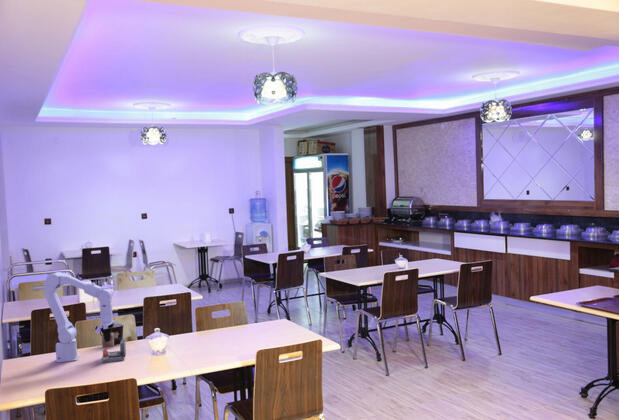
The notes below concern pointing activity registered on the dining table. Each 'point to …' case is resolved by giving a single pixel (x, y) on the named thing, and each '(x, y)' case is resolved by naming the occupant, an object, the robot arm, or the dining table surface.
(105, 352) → the lever
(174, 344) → the dining table surface
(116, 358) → the press bed
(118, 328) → the coffee mug
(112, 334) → the housing block
